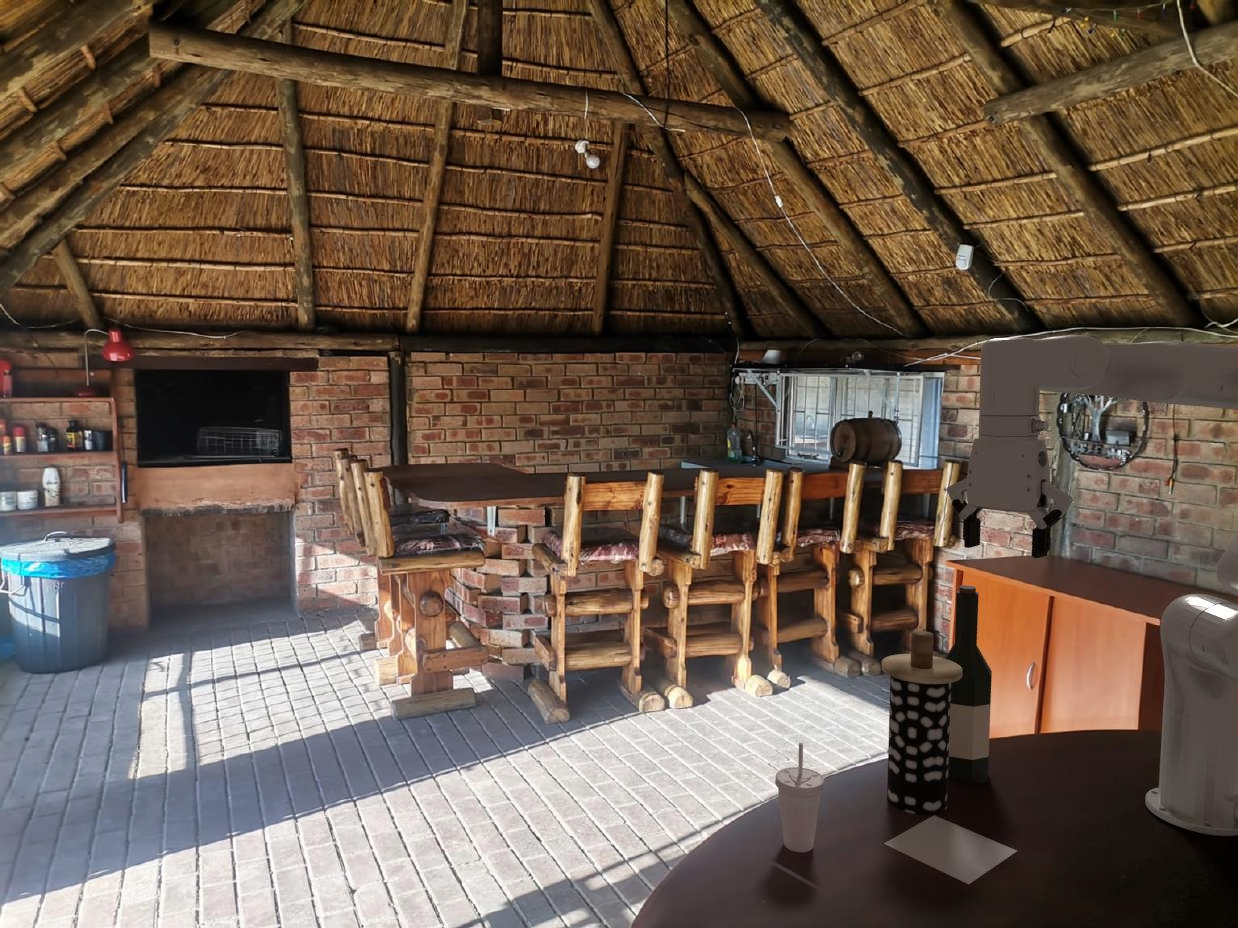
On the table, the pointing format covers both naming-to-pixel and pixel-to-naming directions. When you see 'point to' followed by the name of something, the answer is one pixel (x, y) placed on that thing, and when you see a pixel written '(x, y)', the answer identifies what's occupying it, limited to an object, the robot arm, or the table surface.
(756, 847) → the table surface
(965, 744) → the wine bottle
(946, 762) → the spotted tube
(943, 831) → the mat
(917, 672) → the lid
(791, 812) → the smoothie
